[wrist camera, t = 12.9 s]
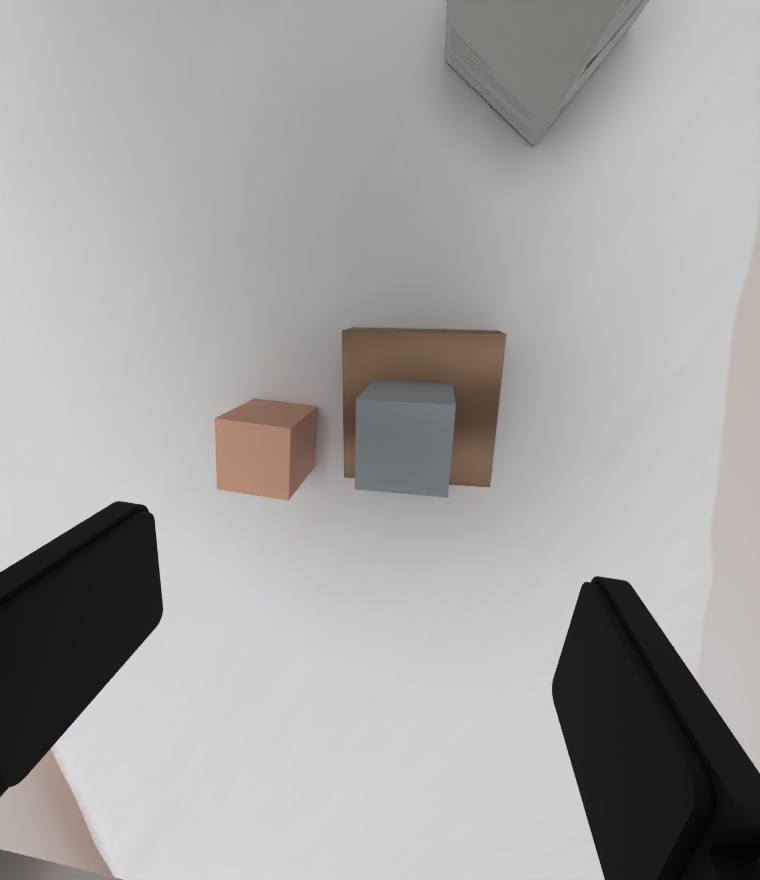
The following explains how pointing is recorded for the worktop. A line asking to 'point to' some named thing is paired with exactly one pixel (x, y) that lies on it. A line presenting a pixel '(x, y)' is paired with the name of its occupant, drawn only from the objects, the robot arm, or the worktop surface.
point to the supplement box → (533, 52)
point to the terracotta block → (265, 448)
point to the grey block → (405, 437)
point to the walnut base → (439, 361)
